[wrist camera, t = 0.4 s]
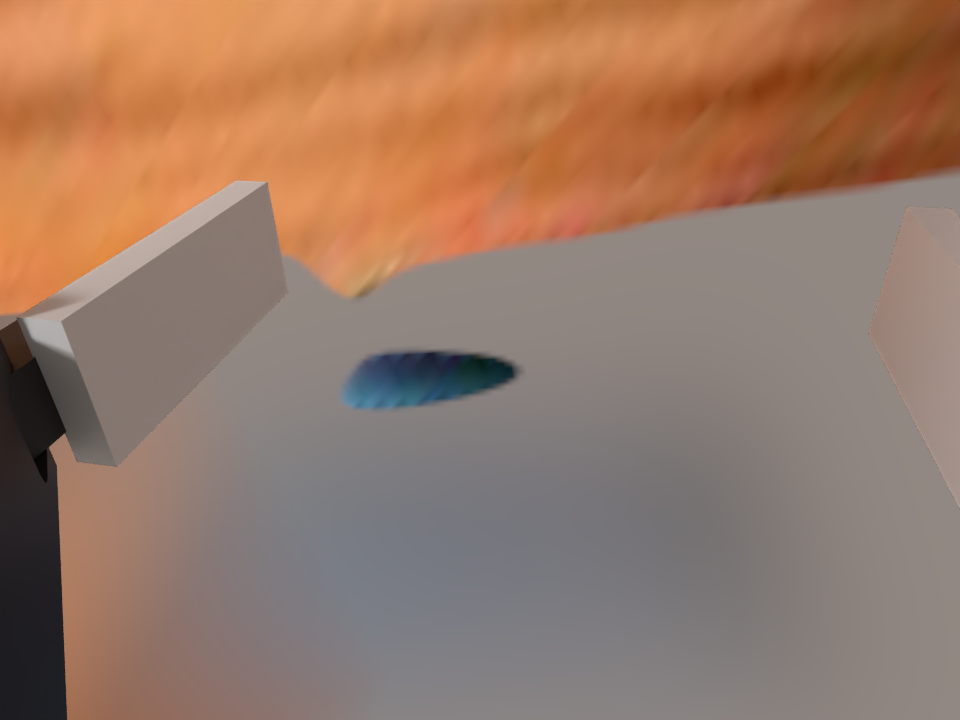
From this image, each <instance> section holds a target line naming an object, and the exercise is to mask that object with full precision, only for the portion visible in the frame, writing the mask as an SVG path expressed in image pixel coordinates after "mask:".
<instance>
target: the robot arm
mask: <svg viewBox="0 0 960 720" xmlns="http://www.w3.org/2000/svg"><path fill="white" fill-rule="evenodd" d="M287 293H288V289H287V283H286V278H285V273H284V268H283V262H282V257H281V252H280V246H279V241H278V236H277V230H276V225H275V220H274V215H273V209H272V204H271V199H270V193H269V188H268V183H267V182H258V181H235V182H233V183H232V184H230V185H228V186H227V187H225V188H224V189H222V190H220V191H219V192H217V193H215V194H214V195H212V196H211V197H209V198H207V199H206V200H204V201H203V202H201V203H199V204H198V205H196V206H195V207H193V208H191V209H190V210H188V211H187V212H185V213H183V214H182V215H180V216H179V217H177V218H175V219H174V220H172V221H170V222H169V223H167V224H166V225H164V226H162V227H161V228H159V229H158V230H156V231H154V232H153V233H151V234H150V235H148V236H146V237H145V238H143V239H142V240H140V241H138V242H137V243H135V244H134V245H132V246H130V247H129V248H127V249H125V250H124V251H122V252H121V253H119V254H117V255H116V256H114V257H113V258H111V259H109V260H108V261H106V262H105V263H103V264H101V265H100V266H98V267H97V268H95V269H93V270H92V271H90V272H89V273H87V274H85V275H84V276H82V277H81V278H79V279H77V280H76V281H74V282H72V283H71V284H69V285H68V286H66V287H64V288H63V289H61V290H60V291H58V292H56V293H55V294H53V295H52V296H50V297H48V298H47V299H45V300H44V301H42V302H40V303H39V304H37V305H36V306H34V307H32V308H31V309H29V310H27V311H26V312H24V313H23V314H21V315H19V316H18V317H17V320H16V321H15V322H13V323H12V324H10V325H8V326H7V327H5V328H3V329H2V330H0V720H67V706H66V684H65V659H64V633H63V611H62V610H63V609H62V584H61V560H60V538H59V537H60V535H59V511H58V487H57V465H56V463H55V461H54V458H53V457H52V454H51V451H50V450H49V446H50V445H52V444H53V443H54V442H55V441H56V440H57V439H59V438H60V437H61V436H62V435H63V434H64V433H65V434H66V437H67V439H68V442H69V444H70V446H71V448H72V451H73V453H74V456H75V458H76V461H77V462H84V463H92V464H99V465H107V466H115V467H117V466H118V465H119V464H120V463H121V462H122V461H123V460H124V459H125V458H126V457H127V456H128V455H129V454H130V453H131V452H132V451H133V450H134V449H135V448H136V447H137V446H138V445H139V444H140V443H141V442H142V441H143V440H144V439H145V438H146V437H147V436H148V435H149V434H150V432H152V431H153V430H154V429H155V428H156V427H157V426H158V424H160V423H161V421H162V420H163V419H164V418H165V417H166V416H167V415H168V414H169V413H170V412H171V411H172V410H173V409H174V408H175V407H176V406H177V405H178V404H179V403H180V402H181V401H182V400H183V399H184V398H185V397H186V396H187V395H188V394H189V393H190V392H191V391H192V390H193V389H194V388H195V387H196V386H197V385H198V384H199V383H200V382H201V381H202V380H203V379H204V378H205V377H206V376H207V375H208V374H209V373H210V371H212V370H213V369H214V368H215V367H216V366H217V365H218V363H220V361H221V360H222V359H223V358H224V357H225V356H226V355H227V354H228V353H229V352H230V351H231V350H232V349H233V348H234V347H235V346H236V345H237V344H238V343H239V342H240V341H241V340H242V339H243V338H244V337H245V336H246V335H247V334H248V333H249V332H250V331H251V330H252V329H253V328H254V327H255V326H256V325H257V324H258V323H259V322H260V321H261V320H262V319H263V318H264V317H265V316H266V315H267V314H268V313H269V312H270V311H271V310H272V309H273V308H274V307H275V305H277V303H279V302H280V300H281V299H282V298H283V297H284V296H285V295H286V294H287ZM868 334H869V336H870V337H871V339H872V341H873V343H874V345H875V347H876V349H877V351H878V353H879V355H880V357H881V359H882V360H883V362H884V364H885V366H886V368H887V370H888V372H889V374H890V376H891V378H892V380H893V382H894V384H895V386H896V387H897V389H898V391H899V393H900V395H901V397H902V399H903V401H904V403H905V405H906V407H907V408H908V410H909V412H910V414H911V416H912V418H913V420H914V422H915V424H916V426H917V428H918V430H919V432H920V433H921V436H922V437H923V440H924V441H925V443H926V445H927V447H928V449H929V451H930V453H931V455H932V457H933V459H934V461H935V463H936V465H937V466H938V468H939V470H940V472H941V474H942V476H943V478H944V480H945V482H946V484H947V485H948V488H949V489H950V491H951V493H952V495H953V497H954V499H955V501H956V503H957V505H958V507H959V509H960V217H959V216H958V215H957V214H956V213H955V212H954V211H953V210H952V209H951V208H928V207H906V209H905V213H904V216H903V219H902V222H901V226H900V229H899V232H898V236H897V239H896V243H895V246H894V249H893V253H892V256H891V260H890V263H889V266H888V269H887V273H886V276H885V280H884V283H883V286H882V290H881V293H880V296H879V300H878V303H877V306H876V310H875V313H874V317H873V320H872V323H871V327H870V330H869V333H868Z"/></svg>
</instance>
